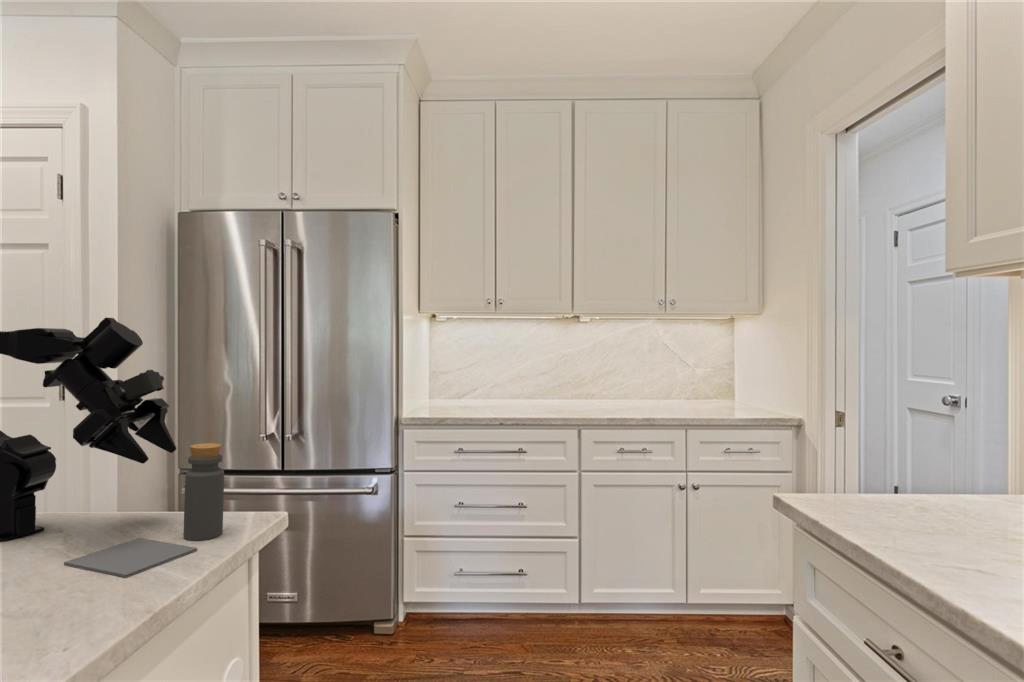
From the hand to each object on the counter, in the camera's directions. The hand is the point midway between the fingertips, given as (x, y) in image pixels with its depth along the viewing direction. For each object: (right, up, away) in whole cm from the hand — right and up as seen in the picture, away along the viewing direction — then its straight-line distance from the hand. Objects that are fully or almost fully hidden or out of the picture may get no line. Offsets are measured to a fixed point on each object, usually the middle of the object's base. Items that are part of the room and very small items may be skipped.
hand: (160, 456), depth 102 cm
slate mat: (+2, -13, -11) cm, 17 cm away
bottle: (+7, -13, 0) cm, 15 cm away
